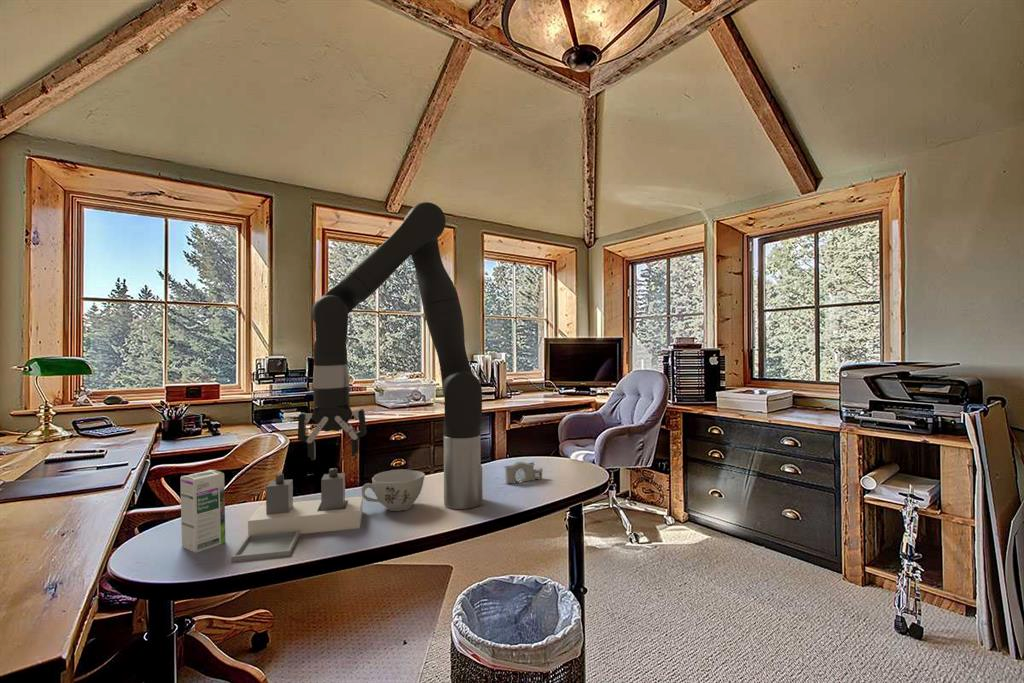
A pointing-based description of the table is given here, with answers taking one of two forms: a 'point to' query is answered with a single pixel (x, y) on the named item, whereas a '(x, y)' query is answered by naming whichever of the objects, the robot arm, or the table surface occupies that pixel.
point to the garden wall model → (528, 472)
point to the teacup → (395, 488)
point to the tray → (266, 546)
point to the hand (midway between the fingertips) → (333, 457)
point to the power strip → (301, 512)
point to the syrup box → (202, 510)
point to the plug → (333, 490)
